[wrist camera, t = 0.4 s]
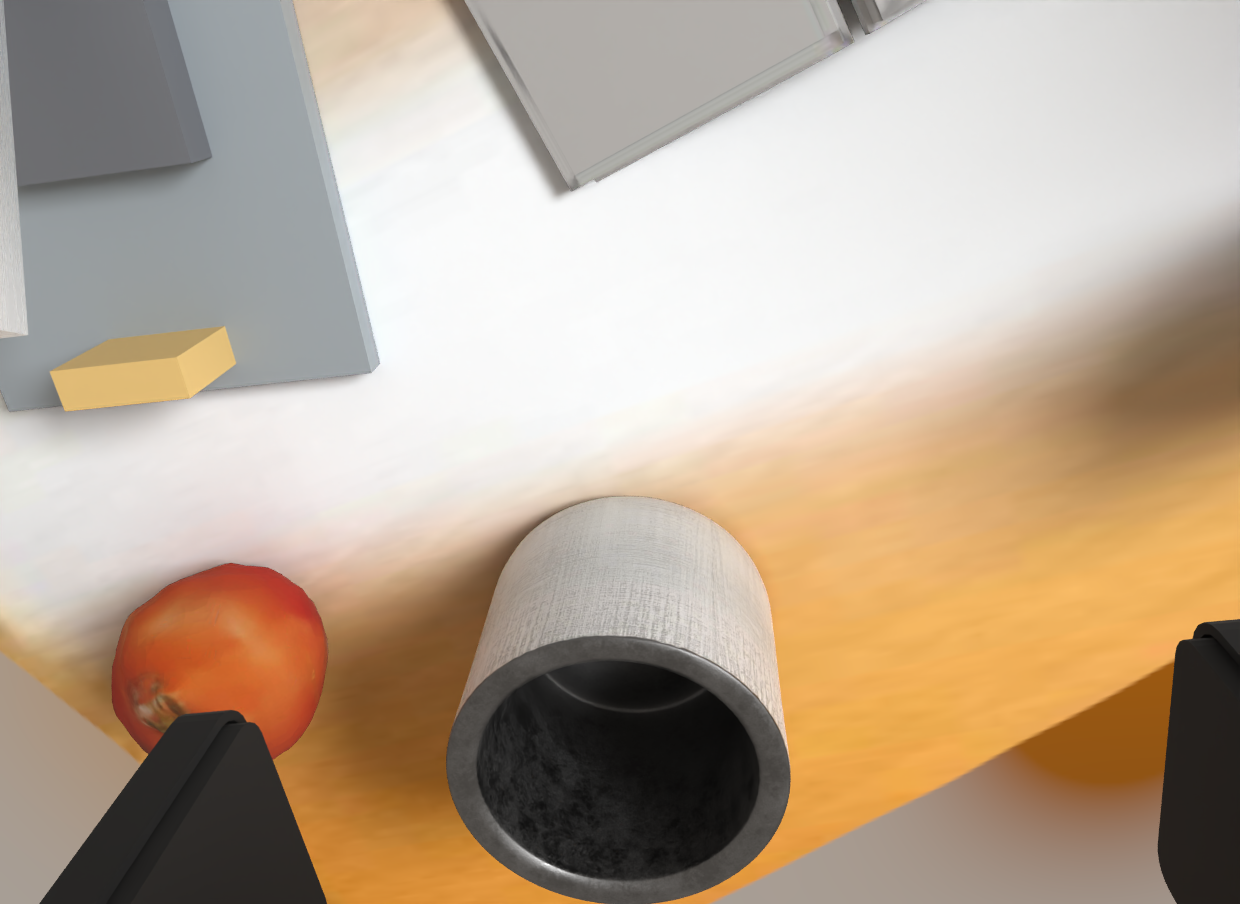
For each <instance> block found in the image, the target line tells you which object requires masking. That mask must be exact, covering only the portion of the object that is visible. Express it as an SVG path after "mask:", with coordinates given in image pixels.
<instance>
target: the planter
mask: <svg viewBox="0 0 1240 904" xmlns="http://www.w3.org/2000/svg"><path fill="white" fill-rule="evenodd" d="M446 770H447V779H448V784H449V789H450V792H451V796H452V799H453V801H454V804H455V806H456V809H457V811H458V813H459V815H460V817H461V819H462V820H463V822H464V824H465V825H466V827H467V828H468V830H469V831H470V832H471V834H472V835H473V836H474V838H475V839H476V840H477V841H478V842H479V843H480V845H481V846H482V847H483V848H484V849H485V850H486V851H487V852H488V853H489V854H491V855H492V856H493V857H494V858H495V859H496V860H498V861H499V862H500V863H501V864H503V865H504V866H505V867H507V868H508V869H510V870H511V871H513V872H514V873H516V874H517V875H519V876H521V877H523V878H524V879H526V880H528V881H530V882H532V883H534V884H536V885H538V886H540V887H543V888H545V889H548V890H550V891H553V892H556V893H559V894H561V895H565V896H568V897H572V898H576V899H580V900H585V901H590V902H596V903H604V904H652V903H660V902H666V901H671V900H676V899H680V898H684V897H687V896H690V895H693V894H696V893H699V892H702V891H704V890H707V889H709V888H711V887H713V886H715V885H718V884H720V883H721V882H723V881H725V880H727V879H729V878H730V877H732V876H733V875H735V874H736V873H738V872H739V871H740V870H742V869H743V868H744V867H746V866H747V865H748V864H749V863H750V862H751V861H752V860H754V859H755V858H756V857H757V856H758V855H759V854H760V852H761V851H762V850H763V849H764V848H765V847H766V845H767V844H768V843H769V842H770V840H771V839H772V837H773V835H774V834H775V832H776V831H777V829H778V827H779V825H780V823H781V821H782V818H783V816H784V813H785V810H786V807H787V803H788V798H789V793H790V762H789V754H788V746H787V739H786V732H785V724H784V717H783V709H782V701H781V693H780V685H779V676H778V667H777V658H776V649H775V641H774V632H773V624H772V616H771V609H770V603H769V599H768V595H767V592H766V589H765V586H764V584H763V581H762V579H761V576H760V574H759V572H758V570H757V568H756V566H755V564H754V562H753V561H752V559H751V558H750V556H749V555H748V553H747V552H746V551H745V550H744V548H743V547H742V546H741V545H740V544H739V542H738V541H737V540H736V539H735V538H734V537H733V536H732V535H731V534H730V533H728V532H727V531H726V530H725V529H724V528H722V527H721V526H720V525H718V524H717V523H715V522H714V521H712V520H711V519H709V518H707V517H706V516H704V515H702V514H700V513H698V512H696V511H694V510H692V509H690V508H687V507H685V506H682V505H679V504H676V503H673V502H669V501H665V500H661V499H656V498H650V497H640V496H615V497H606V498H600V499H595V500H590V501H587V502H583V503H580V504H577V505H574V506H571V507H569V508H567V509H564V510H562V511H560V512H558V513H556V514H555V515H553V516H551V517H550V518H548V519H547V520H545V521H543V522H542V523H541V524H540V525H538V526H537V527H536V528H534V529H533V530H532V531H531V532H530V533H529V534H528V535H527V536H526V537H525V538H524V539H523V540H522V541H521V543H520V544H519V545H518V546H517V548H516V549H515V551H514V552H513V554H512V555H511V557H510V558H509V560H508V561H507V563H506V564H505V566H504V568H503V570H502V572H501V575H500V577H499V579H498V582H497V585H496V588H495V591H494V595H493V598H492V601H491V604H490V608H489V611H488V614H487V617H486V621H485V624H484V627H483V631H482V634H481V637H480V641H479V644H478V647H477V651H476V654H475V657H474V660H473V664H472V667H471V670H470V673H469V676H468V680H467V683H466V686H465V689H464V692H463V695H462V698H461V701H460V704H459V707H458V710H457V713H456V716H455V720H454V723H453V726H452V729H451V733H450V737H449V742H448V747H447V756H446Z"/></svg>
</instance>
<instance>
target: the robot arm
mask: <svg viewBox="0 0 1240 904" xmlns="http://www.w3.org/2000/svg"><path fill="white" fill-rule="evenodd" d="M1161 805H1162V806H1161V815H1160V826H1159V837H1158V856H1159V863H1160V867H1161V871H1162V874H1163V877H1164V879H1165V882H1166V884H1167V886H1168V888H1169V890H1170V892H1171V894H1172V896H1173V898H1174V899H1175V901H1176V903H1177V904H1240V619H1237V620H1226V621H1215V622H1204V623H1202V624H1199V625H1198V626H1197V628H1196V630H1195V631H1194V635H1193V639H1188V640H1182V641H1180V642H1179V644H1178V645H1177V648H1176V653H1175V663H1174V674H1173V685H1172V696H1171V707H1170V718H1169V728H1168V739H1167V750H1166V761H1165V772H1164V783H1163V793H1162V804H1161ZM40 904H327V902H326V898H325V896H324V893H323V890H322V888H321V885H320V883H319V880H318V877H317V875H316V872H315V869H314V867H313V864H312V862H311V859H310V856H309V854H308V851H307V849H306V846H305V843H304V841H303V838H302V836H301V833H300V830H299V828H298V825H297V823H296V820H295V817H294V815H293V812H292V810H291V807H290V804H289V802H288V799H287V797H286V794H285V791H284V789H283V786H282V783H281V781H280V778H279V776H278V773H277V770H276V768H275V765H274V763H273V760H272V757H271V755H270V752H269V750H268V747H267V744H266V742H265V739H264V737H263V734H262V732H261V730H260V728H259V726H257V725H256V724H255V723H252V722H247V721H246V720H245V718H244V716H243V715H242V714H241V713H239V712H238V711H235V710H224V711H213V712H202V713H191V714H184V715H181V716H179V717H177V718H176V719H175V720H174V721H173V722H172V723H171V725H170V726H169V728H168V729H167V730H166V732H165V733H164V734H163V736H162V737H161V738H160V740H159V741H158V743H157V744H156V745H155V747H154V748H153V749H152V751H151V752H150V753H149V755H148V756H147V758H146V759H145V760H144V762H143V763H142V764H141V766H140V767H139V768H138V770H137V771H136V773H135V774H134V775H133V777H132V778H131V779H130V781H129V782H128V783H127V785H126V786H125V788H124V789H123V790H122V792H121V793H120V794H119V796H118V797H117V799H116V800H115V801H114V803H113V804H112V805H111V807H110V808H109V809H108V811H107V812H106V813H105V815H104V816H103V818H102V819H101V821H100V822H99V823H98V824H97V826H96V827H95V828H94V830H93V831H92V833H91V834H90V835H89V837H88V838H87V840H86V841H85V842H84V844H83V845H82V846H81V848H80V849H79V850H78V852H77V853H76V854H75V856H74V857H73V858H72V860H71V861H70V863H69V864H68V865H67V867H66V868H65V869H64V871H63V872H62V873H61V875H60V876H59V878H58V879H57V880H56V882H55V883H54V884H53V886H52V887H51V889H50V890H49V892H48V893H47V894H46V895H45V897H44V898H43V899H42V901H41V902H40Z"/></svg>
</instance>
